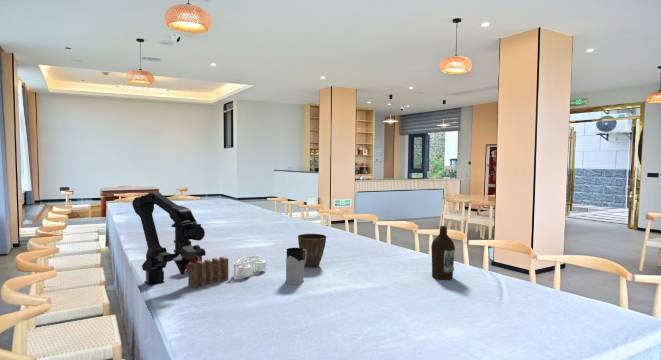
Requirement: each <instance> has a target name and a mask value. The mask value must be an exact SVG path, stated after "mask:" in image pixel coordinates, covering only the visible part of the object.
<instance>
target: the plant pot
mask: <svg viewBox="0 0 661 360" xmlns="http://www.w3.org/2000/svg"><path fill="white" fill-rule="evenodd" d="M326 241H327V235H325V234H322V233H321V234H319V233H303V234H298V235H297V242H298V248H302V249H306V251H307V257H306V262H305V265H304V267H305V268H310V269H311V268H313V269H314V267H315V268H318V267H319V266H320V264H321V262H322V261H321V260H322V258H323V256H324V251H325V247H326V243H327V242H326ZM303 260H305V250H303Z"/></svg>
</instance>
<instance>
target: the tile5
mask: <svg viewBox="0 0 661 360" xmlns="http://www.w3.org/2000/svg"><path fill="white" fill-rule="evenodd" d="M218 259H220V260H221V280H223V281H229V258H228V257H225V256H219V258H218Z"/></svg>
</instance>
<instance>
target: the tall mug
mask: <svg viewBox="0 0 661 360" xmlns="http://www.w3.org/2000/svg"><path fill="white" fill-rule="evenodd" d="M303 250H305V260H303ZM306 257H307V251H306V249H302V248H299V247H289V248H287V249H286V257H285V260H286V261H285V262H286V263H285V272H286V273H285V280H284V281H285V284H289V285H300V284H303V283H304V282H305V280H304V267H305V266H304V265H305V262H306Z"/></svg>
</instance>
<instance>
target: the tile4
mask: <svg viewBox="0 0 661 360" xmlns="http://www.w3.org/2000/svg"><path fill="white" fill-rule="evenodd" d="M211 261H213V282H217V283H219V282H220V283H221V282H222V279H221V260H220V259H219V258H217V257H215V258H212V259H211Z"/></svg>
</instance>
